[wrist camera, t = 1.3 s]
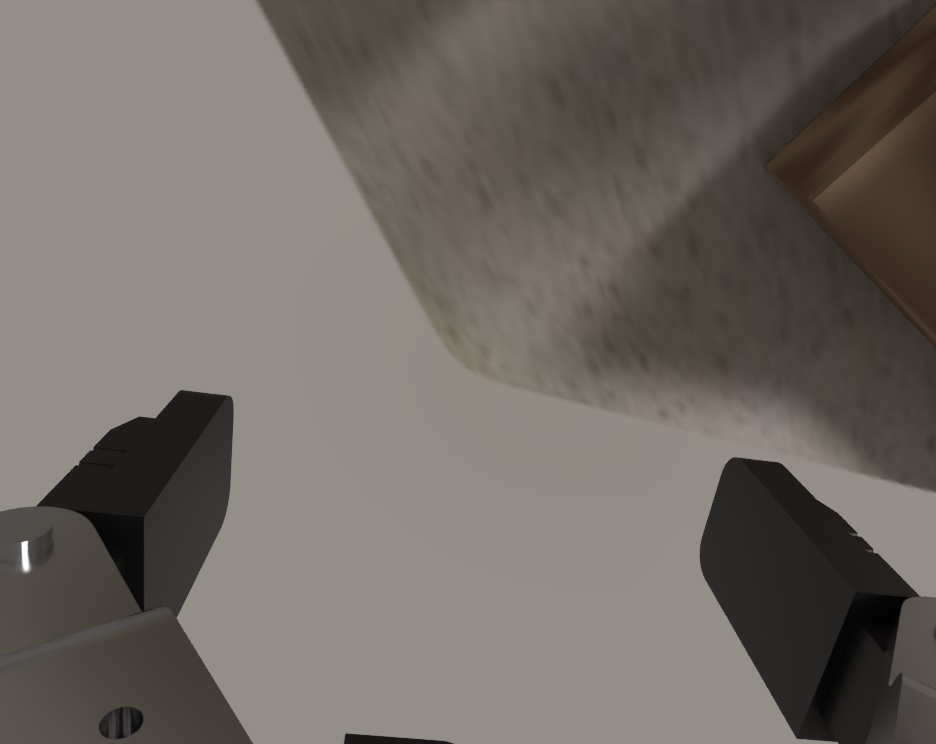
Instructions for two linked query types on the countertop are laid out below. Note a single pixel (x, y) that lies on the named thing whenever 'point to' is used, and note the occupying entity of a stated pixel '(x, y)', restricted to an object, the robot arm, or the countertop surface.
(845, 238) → the block
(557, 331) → the countertop surface
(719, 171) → the countertop surface
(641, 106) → the countertop surface
